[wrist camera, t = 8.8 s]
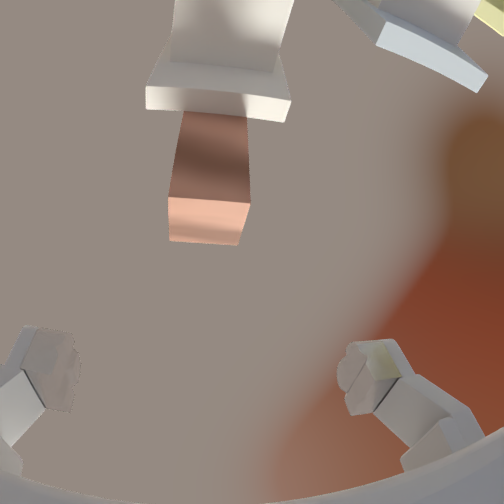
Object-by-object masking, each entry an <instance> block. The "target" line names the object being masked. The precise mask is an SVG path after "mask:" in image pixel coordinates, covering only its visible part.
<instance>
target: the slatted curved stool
mask: <svg viewBox="0 0 504 504" xmlns="http://www.w3.org/2000/svg"><path fill="white" fill-rule="evenodd" d="M474 16H476V17H477V18H479V19H480V20H481V21H483V22H484V23H486V24H487V25H488V26H490V27H491V28H492V29H494V30H495V31H496V32H498V33H499V34H500V35H501V36H503V37H504V0H481V2H480V4H479V6H478V8H477V10H476V11H475V13H474Z"/></svg>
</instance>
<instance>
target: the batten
mask: <svg viewBox="0 0 504 504" xmlns="http://www.w3.org/2000/svg"><path fill="white" fill-rule="evenodd" d="M247 133H248V131H247V117H241V116H233V115H224V114H214V113H203V112H190V111H184V113H183V118H182V123H181V128H180V133H179V138H178V143H177V148H176V154H175V159H174V165H173V170H172V177H171V182H170V189H169V195H168V207H169V208H168V210H169V237H170V241H180V242H195V243H210V244H225V245H238V243H239V240H240V236H241V233H242V230H243V227H244V223H245V220H246V217H247V214H248V211H249V207H250V204H251V200H250V177H249V154H248V134H247Z"/></svg>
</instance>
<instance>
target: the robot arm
mask: <svg viewBox="0 0 504 504" xmlns="http://www.w3.org/2000/svg"><path fill="white" fill-rule="evenodd" d="M74 342H75V341H74V338H73V336H72V334H71V333H69V332H63V331H58V330H51V329H47V328H40V327H35V326H29V325H26V326H24V327H23V328H22V330H21V332H20V334H19V336H18V338H17V340H16V342H15V344H14V346H13V348H12V350H11V352H10V354H9V357H8V359H7V361H6V363H5V365H0V504H143V503H135V502H127V501H120V500H113V499H107V498H101V497H96V496H91V495H86V494H81V493H76V492H72V491H68V490H64V489H60V488H56V487H53V486H49V485H46V484H42V483H39V482H36V481H32V480H29V479H26V478H23V477H21V472H22V467H23V460H22V458H21V457H20V456H19V455H18V454H17V453H16V452H15V451H14V450H13V449H12V448H11V447H12V446H13V445H14V443H15V442H16V441H17V440H18V439H19V438H20V437H21V436H22V435H23V433H25V431H26V430H27V429H28V428H29V427H30V426H31V425H32V424H33V423H34V422H35V421H36V420H37V418H38V417H39V416H40V415H41V414H42V413H43V412H44V411H45V408H47V409H52V410H57V411H63V412H69V413H70V412H71V408H72V404H73V400H74V396H75V394H74V391H73V389H72V387H73V386H75V385H76V384H77V383H78V381H79V377H80V368H81V363H80V357H79V354H78V352H77V351H76V350H75V349H74V348H73V345H74ZM346 353H347V356H346V357H344V358H343V359H342V360H341V361H340V363H339V365H338V367H337V381H338V384H339V387H340V388H341V389H342V390H343V391H345V392H346V396H345V399H344V400H345V402H346V405H347V407H348V410H349V413H350V415H351V416H352V415H360V414H366V413H372V412H374V413H373V414H374V415H375V416H376V417H377V418H378V419H379V420H381V421H382V422H383V423H384V424H385V425H386V426H387V427H388V428H389V429H390V430H391V431H392V432H393V433H394V434H396V435H397V436H398V437H399V438H400V439H401V440H402V441H403V442H404V443H405V444H406V445H407V446H409V447H410V449H409V450H408V451H407V452H406V453H405V454H404V455H402V457H401V459H400V461H401V464H402V466H403V469H404V472H405V473H402V474H399V475H396V476H393V477H390V478H387V479H384V480H380V481H377V482H374V483H370V484H367V485H363V486H359V487H355V488H351V489H347V490H343V491H339V492H334V493H329V494H325V495H319V496H314V497H308V498H303V499H296V500H290V501H282V502H274V503H265V504H504V427H503V428H501V429H499V430H497V431H496V432H494V433H492V434H490V435H488V436H487V437H485V435H484V434H483V432H482V430H481V428H480V426H479V425H478V423H477V421H476V419H475V417H474V416H473V414H472V412H471V411H470V409H469V408H468V407H467V406H465V405H464V404H462V403H461V402H459V401H458V400H456V399H455V398H453V397H452V396H450V395H449V394H447V393H446V392H444V391H443V390H441V389H440V388H439V387H437V386H435V385H434V384H433V383H431V382H430V381H428V380H427V379H425V378H424V377H422V376H421V375H419V374H418V375H415V373H414V372H413V370H412V368H411V366H410V364H409V363H408V361H407V359H406V358H405V356H404V354H403V353H402V351H401V349H400V348H399V346H398V345H397V343H396V341H394V340H393V339H385V340H372V341H360V342H351V343H350V344H349V345H348V346H347V349H346Z"/></svg>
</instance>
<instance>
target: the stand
mask: <svg viewBox="0 0 504 504" xmlns="http://www.w3.org/2000/svg"><path fill="white" fill-rule="evenodd" d="M332 1H333V2H334V3H335V4H336V5H338V6H339V7H340V8H341V9H342V10H343V11H344V12H345V13H346V14H347V15H348V16H349V17H350V18H351V19H352V20H353V22H355V24H356V25H357V26H358V27H359V28H360V29H361V30H362V31H363V32H364V33H365V34H366V35H367V36H368V38H369V39H370V40H371V41H372V42H373V43H374V44H375V45H376V46H379V47H381V48H384V49H387V50H389V51H392V52H394V53H397V54H399V55H401V56H404V57H407V58H408V59H411V60H413V61H415V62H418V63H420V64H422V65H424V66H426V67H428V68H430V69H433V70H435V71H437V72H439V73H441V74H443V75H445V76H447V77H449V78H450V79H453V80H454V81H456V82H458V83H460V84H462V85H463V86H465V87H467V88H469V89H471V90H472V91H474V92H476V93H477V92H478V91H479V89H480V88H481V86H482V85H483V83H484V82H485V80H486V79H487V77H488V75H487V74H486V73H485V72H484V71H483V70H482V69H481V68H480V67H479V66H478V65H477V64H476V63H475V62H474V61H473V60H472V59H471V58H470V57H469V56H468V55H467V54H466V53H465V52H463V51H462V50H461V49H460V48H459V47H458V46H457V44H458V42H459V40H460V39H461V37H462V35H463V34H464V32H465V30H466V28H467V26H468V24H469V23H470V21H471V19H472V17H473V15H474V13H475V11H476V10H477V8H478V6H479V4H480V2H481V0H332ZM293 2H294V0H175V6H174V17H173V27H172V33H171V35H170V37H169V39H168V40H167V43H166V44H165V46H164V48H163V51H162V52H161V54H160V56H159V58H158V61H157V63H156V65H155V67H154V69H153V71H152V73H151V76H150V78H149V80H148V82H147V85H146V109H152V110H155V109H156V110H174V111H190V112H203V113H214V114H224V115H233V116H241V117H250V118H257V119H264V120H271V121H277V122H284V121H285V118H286V115H287V113H288V110H289V106H290V104H291V98H290V94H289V89H288V86H287V82H286V77H285V74H284V70H283V66H282V62H281V59H280V55H279V49H280V45H281V41H282V38H283V35H284V32H285V28H286V25H287V22H288V18H289V15H290V12H291V8H292V5H293Z"/></svg>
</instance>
